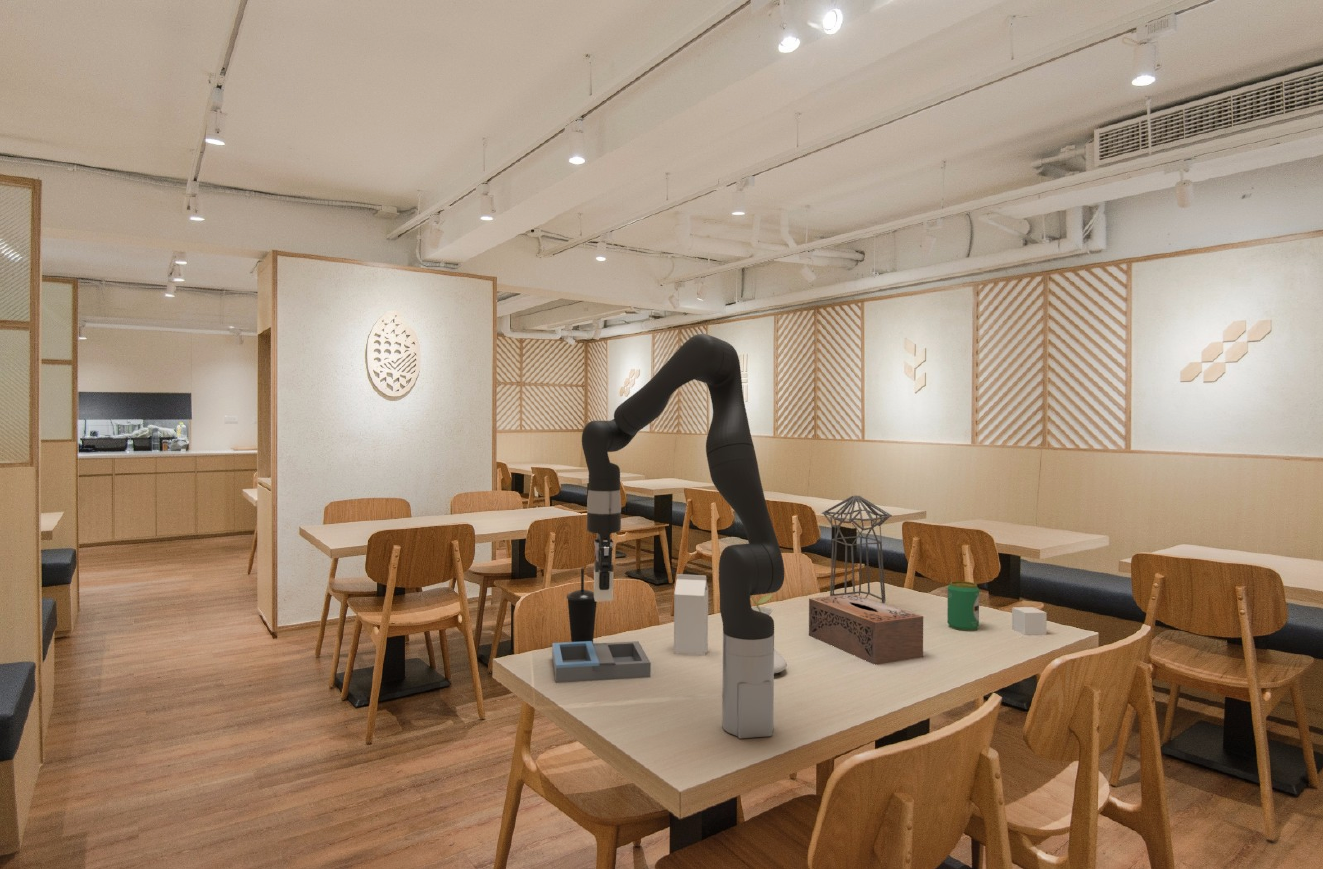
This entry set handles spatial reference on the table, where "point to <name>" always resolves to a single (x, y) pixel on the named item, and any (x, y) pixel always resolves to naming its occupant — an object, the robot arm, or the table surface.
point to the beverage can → (963, 606)
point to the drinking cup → (581, 613)
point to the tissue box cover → (866, 628)
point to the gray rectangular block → (598, 594)
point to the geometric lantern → (851, 502)
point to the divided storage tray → (599, 661)
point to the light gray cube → (1029, 620)
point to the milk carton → (691, 615)
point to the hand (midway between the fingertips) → (603, 586)
